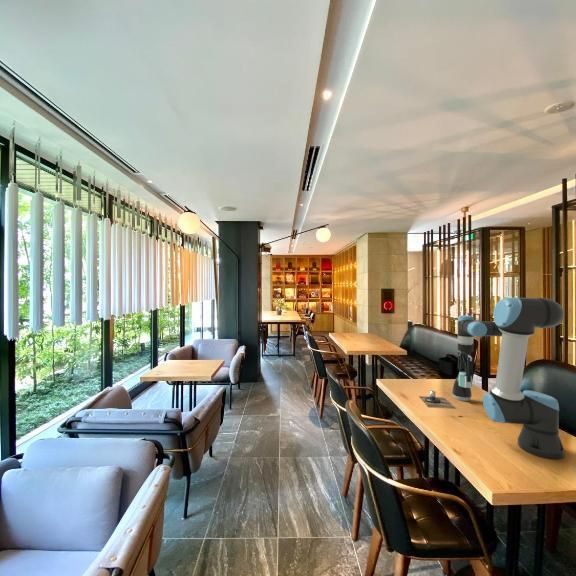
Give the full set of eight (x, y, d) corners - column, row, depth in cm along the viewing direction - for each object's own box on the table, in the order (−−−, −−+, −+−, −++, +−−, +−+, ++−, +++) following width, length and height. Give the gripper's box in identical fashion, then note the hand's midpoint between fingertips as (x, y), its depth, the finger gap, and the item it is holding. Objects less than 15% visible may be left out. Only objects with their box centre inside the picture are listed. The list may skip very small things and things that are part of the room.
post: (442, 403, 176) (442, 394, 176) (427, 402, 177) (428, 393, 177) (437, 398, 184) (437, 389, 184) (423, 398, 185) (423, 389, 185)
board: (456, 410, 169) (456, 408, 169) (428, 409, 171) (428, 407, 171) (443, 399, 187) (443, 397, 187) (418, 397, 188) (418, 396, 188)
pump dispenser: (475, 403, 179) (475, 377, 179) (457, 403, 180) (457, 377, 180) (465, 397, 190) (466, 373, 190) (449, 397, 190) (449, 372, 190)
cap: (473, 388, 165) (473, 375, 165) (461, 387, 166) (461, 374, 166) (468, 384, 171) (468, 372, 171) (457, 384, 172) (457, 371, 172)
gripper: (481, 347, 158) (481, 391, 158) (464, 340, 177) (464, 380, 177) (466, 346, 159) (465, 390, 159) (451, 340, 178) (450, 380, 178)
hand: (465, 385), depth 168 cm, fingers closed on cap, 6 cm apart
